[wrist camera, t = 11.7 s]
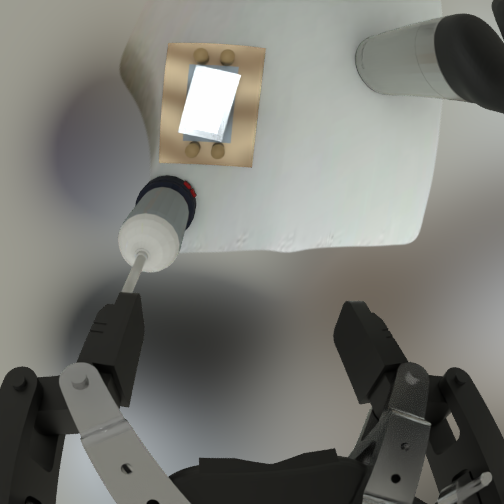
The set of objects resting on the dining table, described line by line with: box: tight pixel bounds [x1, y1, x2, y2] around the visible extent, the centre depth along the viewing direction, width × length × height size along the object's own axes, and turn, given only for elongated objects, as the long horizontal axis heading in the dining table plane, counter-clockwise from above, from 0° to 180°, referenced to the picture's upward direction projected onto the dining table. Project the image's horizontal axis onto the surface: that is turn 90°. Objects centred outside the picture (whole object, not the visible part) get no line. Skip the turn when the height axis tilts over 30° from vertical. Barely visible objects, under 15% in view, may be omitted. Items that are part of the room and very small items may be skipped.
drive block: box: [178, 65, 241, 142], centre depth 30 cm, size 5×8×4 cm, turn 164°
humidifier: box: [118, 176, 196, 293], centre depth 28 cm, size 8×8×25 cm
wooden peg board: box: [159, 43, 266, 168], centre depth 31 cm, size 16×12×5 cm
